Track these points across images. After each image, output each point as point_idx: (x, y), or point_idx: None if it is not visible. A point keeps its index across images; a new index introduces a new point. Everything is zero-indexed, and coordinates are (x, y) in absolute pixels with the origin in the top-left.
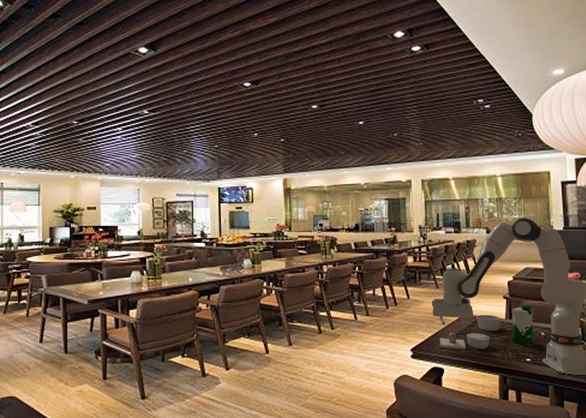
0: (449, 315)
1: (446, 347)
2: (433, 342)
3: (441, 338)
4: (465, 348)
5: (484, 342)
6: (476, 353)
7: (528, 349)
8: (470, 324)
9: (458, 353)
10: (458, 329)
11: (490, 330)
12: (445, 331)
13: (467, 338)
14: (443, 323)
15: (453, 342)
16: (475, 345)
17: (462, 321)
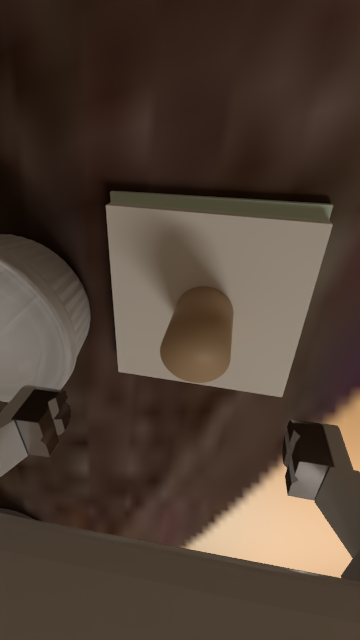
0: (212, 600)
1: (281, 201)
2: (355, 336)
3: (273, 391)
4: (113, 192)
5: None
6: (22, 73)
7: None
8: None
9: (193, 5)
10: (138, 530)
11: (5, 510)
12: (206, 514)
13: (76, 332)
14: (322, 441)
15: (199, 290)
16: (29, 243)
17: (19, 459)
